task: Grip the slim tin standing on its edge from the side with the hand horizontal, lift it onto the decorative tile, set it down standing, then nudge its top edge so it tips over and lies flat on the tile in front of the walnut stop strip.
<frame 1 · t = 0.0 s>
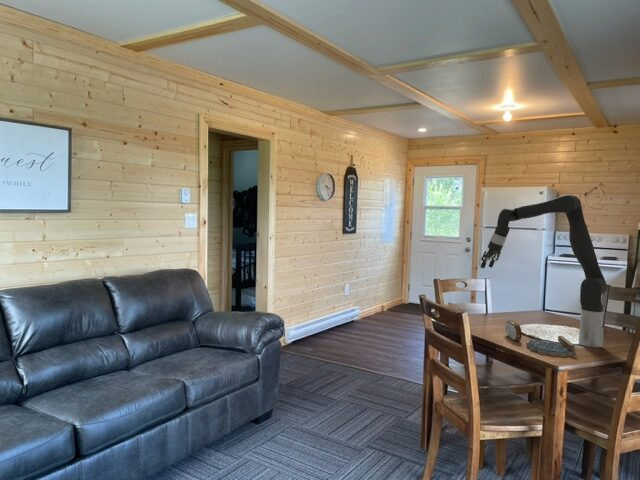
hand: (486, 267, 268), 31 cm above the table, tool tilted 20°, fingers open, 8 cm apart
tin: (512, 338, 235), on the table
walnut stop strip: (565, 345, 216), resting on decorative tile
decorative tile: (550, 351, 216), on the table
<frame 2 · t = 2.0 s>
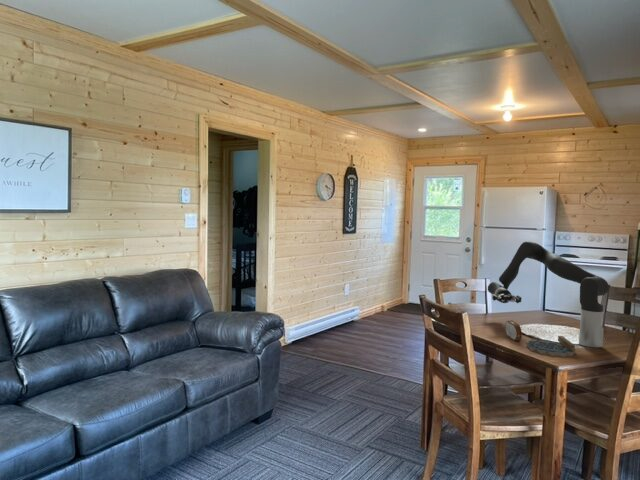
hand: (509, 300, 244), 17 cm above the table, tool horizontal, fingers open, 8 cm apart
nothing on the table moved.
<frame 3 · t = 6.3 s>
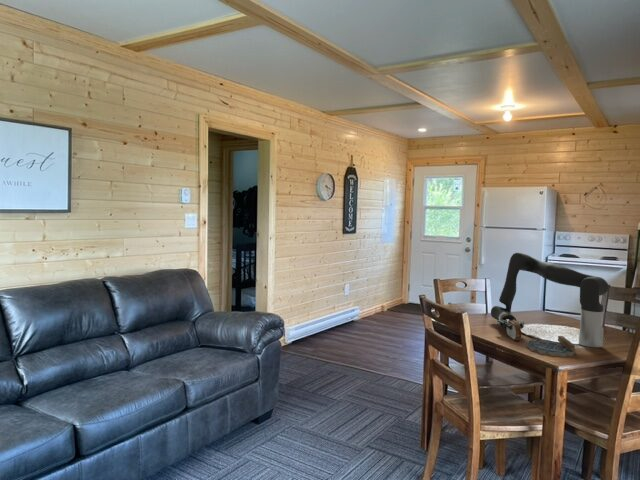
hand: (514, 327, 231), 6 cm above the table, tool horizontal, fingers closed on tin, 3 cm apart
tin: (512, 338, 235), on the table, touching gripper
everything else where it was.
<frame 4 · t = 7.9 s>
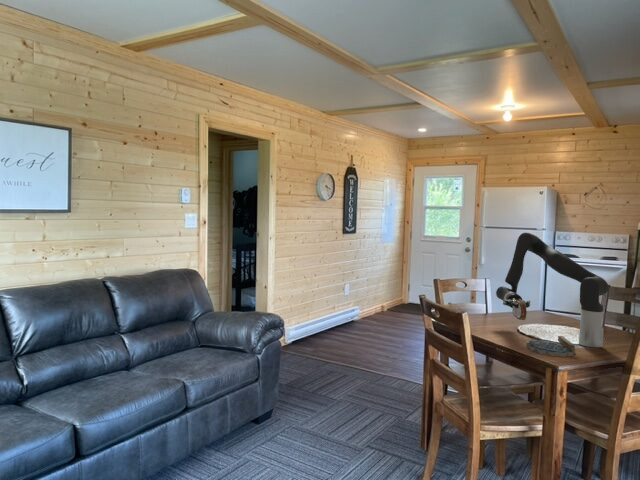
hand: (521, 306, 227), 18 cm above the table, tool horizontal, fingers closed on tin, 3 cm apart
tin: (517, 318, 231), point 11 cm above the table, touching gripper
everything else where it was.
when the fingers open (9 cm above the table, at t = 10.6 s): tin moves 4 cm, resting on decorative tile.
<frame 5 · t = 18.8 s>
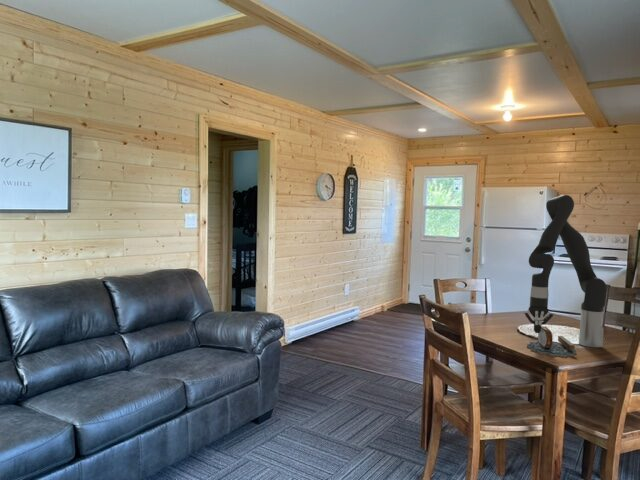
hand: (537, 332, 218), 7 cm above the table, tool pointing down, fingers closed
tin: (543, 346, 217), point 1 cm above the table, touching decorative tile, gripper
decorative tile: (550, 352, 216), on the table, touching tin
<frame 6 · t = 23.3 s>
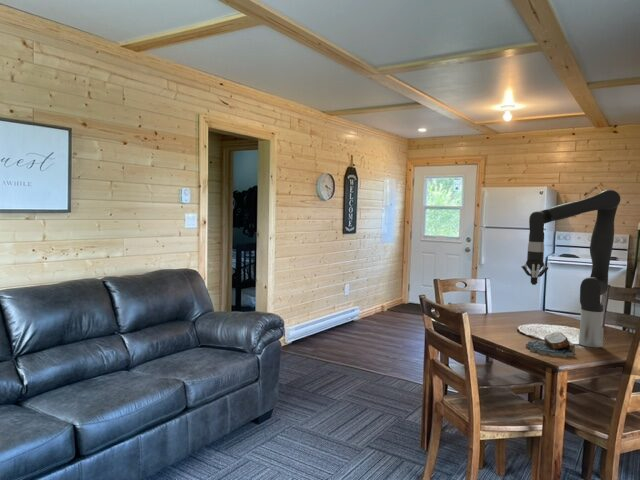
hand: (533, 284, 237), 27 cm above the table, tool pointing down, fingers closed
tin: (546, 342, 217), point 3 cm above the table, touching decorative tile, walnut stop strip
at the end: tin tilted 71°; tin inside the target area on the decorative tile (2.1 cm from its centre), point 4.0 cm above the decorative tile's base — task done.
